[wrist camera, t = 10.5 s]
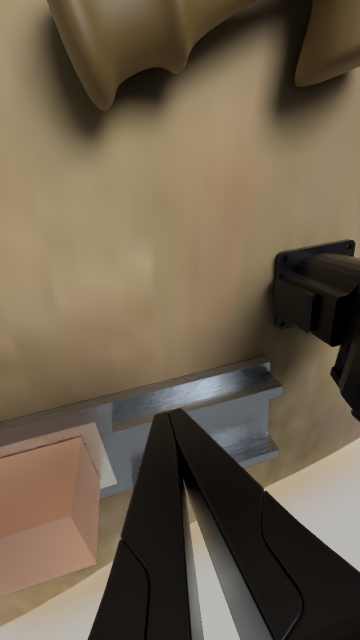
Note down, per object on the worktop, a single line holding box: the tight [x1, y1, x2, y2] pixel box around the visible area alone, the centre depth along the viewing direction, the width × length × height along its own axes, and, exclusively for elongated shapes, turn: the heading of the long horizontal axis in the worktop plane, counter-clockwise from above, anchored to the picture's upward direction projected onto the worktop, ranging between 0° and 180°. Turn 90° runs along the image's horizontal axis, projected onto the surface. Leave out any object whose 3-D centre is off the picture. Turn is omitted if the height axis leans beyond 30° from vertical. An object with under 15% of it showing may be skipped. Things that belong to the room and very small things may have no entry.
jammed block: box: [0, 437, 100, 597], centre depth 19 cm, size 8×6×6 cm
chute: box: [0, 356, 283, 499], centre depth 23 cm, size 26×11×3 cm, turn 98°
